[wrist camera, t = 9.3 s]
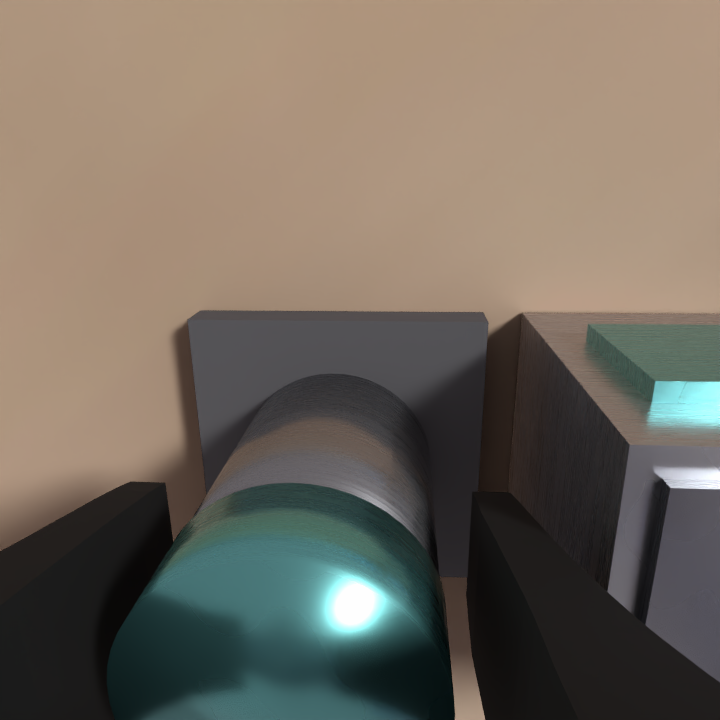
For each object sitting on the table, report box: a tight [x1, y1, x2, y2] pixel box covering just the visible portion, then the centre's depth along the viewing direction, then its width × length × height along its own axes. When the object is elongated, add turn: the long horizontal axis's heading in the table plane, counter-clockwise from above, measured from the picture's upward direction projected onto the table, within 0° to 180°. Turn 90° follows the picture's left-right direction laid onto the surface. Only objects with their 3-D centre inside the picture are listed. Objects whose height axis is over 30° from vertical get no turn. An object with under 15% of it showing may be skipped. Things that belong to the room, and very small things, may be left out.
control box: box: [508, 313, 720, 682], centre depth 10 cm, size 6×5×6 cm
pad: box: [188, 311, 488, 578], centre depth 13 cm, size 6×6×1 cm
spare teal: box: [107, 374, 455, 720], centre depth 10 cm, size 4×4×6 cm
